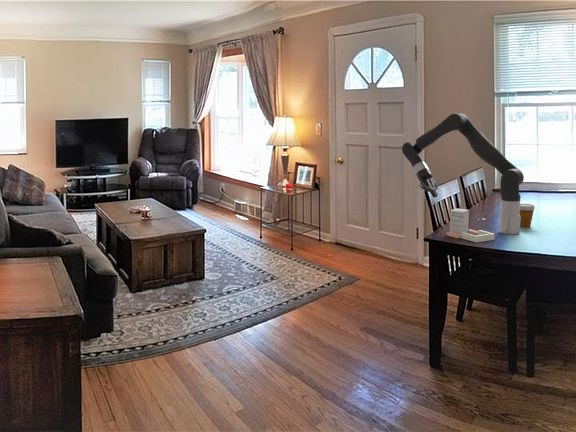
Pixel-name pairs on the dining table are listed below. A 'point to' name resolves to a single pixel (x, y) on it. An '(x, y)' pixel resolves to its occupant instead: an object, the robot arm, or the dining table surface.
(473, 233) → the trap right
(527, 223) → the disposable coffee cup
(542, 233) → the dining table surface
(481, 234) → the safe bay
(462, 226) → the supplement box
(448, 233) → the trap left
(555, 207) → the dining table surface
